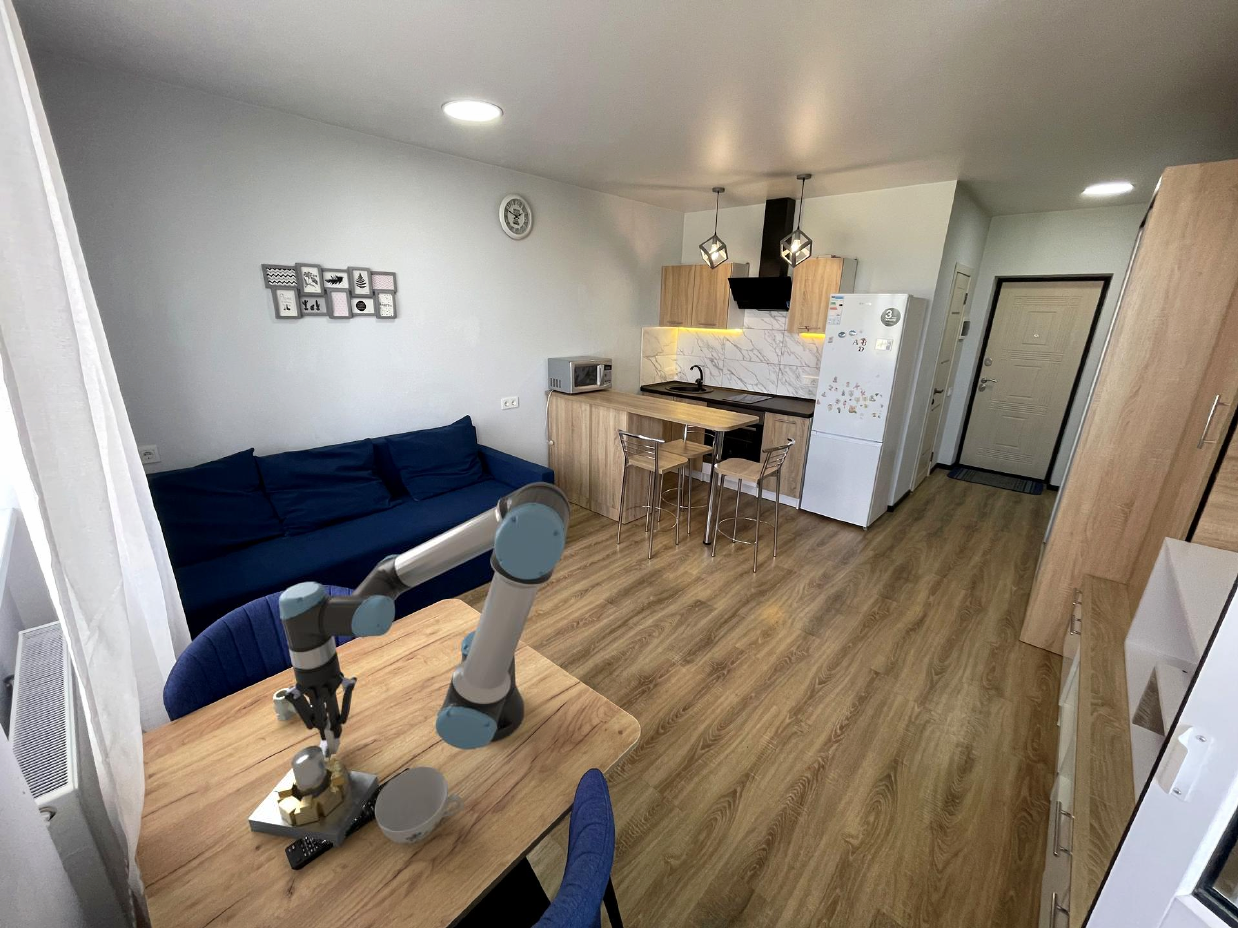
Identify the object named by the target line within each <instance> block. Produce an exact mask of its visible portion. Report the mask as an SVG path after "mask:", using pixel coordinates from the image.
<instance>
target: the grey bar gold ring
mask: <svg viewBox="0 0 1238 928" xmlns="http://www.w3.org/2000/svg"><path fill="white" fill-rule="evenodd" d="M327 722H328V720H327ZM318 746H319V747H321V748H322V751H323V756H324V761H325V766H326V770H327V775H328V779H329V780H330V781H331V786H330V787H329V788H327V789H326V790H325V791H324V792H323V793H322V794H321V795H319V796H318V797H317V798H314V799H313V795H309V796H305V797H303V798H302V801H301V802H300V801H298V800H297V796H298V790H297V786H296V782H295V777H294V773H293V774H292V775H291V776H289V777H288V778H287V783H283V784H280V786H279V789H278V799H277V802H278V807H279V811H280V815H281V817H282V818H284V819H285V820H286V821H288V822H289V823H290V824H291V825H292V824H294V823H295V822H297V825H301V824H305V823H309V822H313V821H317V820H319V816H320V813H321V814H322V815H324V816H326V815H327V814H328V813H329V812H330V811H332V810H333V809H334V808H335V807H336V806H337V805H338V804H339V803H340V802H341V801H342V798H341V797H342V796H345V795H346V791H347V786H348V781H349V779H348V773H347V770H348V769H347V767H346V764H345V763H344V762H343V763H342V762H341V761H340V760H339V759H337V758H335V757H333V759H331V758H332V755H330V754H329V749H328V746H327V741H326V740H325V741H322V739H321V738H320V743H319V745H318Z"/></svg>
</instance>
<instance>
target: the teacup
mask: <svg viewBox="0 0 1238 928" xmlns="http://www.w3.org/2000/svg"><path fill="white" fill-rule="evenodd" d="M448 795H449V786H448V781H447V780H446V778H445V776H444V775H443V773H442V772H441V771H440V770H439V769H438V770H437V768H435V767H432V766H421V765H420V766H416V767H413V768H408V769H407V770H403V771H402V772H401V773H400V774H399V775H396V776H395V777H394V778H392V779H390V780H389V781H388V782H387V784H386V785H385V786H383V788H382V789H381V790H380V791H379V794H378V796H377V797H376V803H375V806H374V815H375V818H376V822H377V824H378V826H379V828H380V830H381V831H382V833H383V834H384V835H385V837H387V838H388V839H389V840H391V841H393V842H395V843H397V844H402V845H408V844H414V843H417V842H419V841H421V840H423V839H424V838H426V837H427V836H429V835H430V834H431V833H432V832H433V831H434V830H435V829H436V828H437V826H438V825H439V823H440V821H441V819H442V818H445V817H449V816H452V815H453V814H455V813H457V811H459V810H460V809H461V808H462V806H463V801H462V800H463V799H462V797H461V796H459V795H452V796H451V795H450V796H449V797H448ZM452 802H454V803H457V805H456V806H455V807H454V808H452V809H450V810H448V811H446V808H447V807H448V806H449V805H450V803H452ZM445 811H446V812H445Z"/></svg>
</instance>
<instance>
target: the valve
mask: <svg viewBox="0 0 1238 928" xmlns="http://www.w3.org/2000/svg"><path fill="white" fill-rule="evenodd" d="M288 689H289V688H287V687H286V688H282V689H280V690H278V691H276V692H275V693H274V694H273V698H272V699H273V704H274V705H273V709H274V712H275V713H276V714H277V715H276V716H277V720H278V721H279V722H287V721H289V720H291V719H293V718H294V717H295V716H296V714H298V713H297V711H296V709H295V708H294V706H293V705H292V704H291V703H290V702H289V701H287V700H286V699H285V698H284V697H285V695H286V693H287V691H288ZM323 700H324V699H323ZM309 704H310V702H309ZM311 707H312V705H311ZM325 708H326V713H327V714H328V712H327V707H326V705H325ZM312 709H313V708H312ZM327 717H328V715H327Z"/></svg>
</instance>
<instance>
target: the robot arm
mask: <svg viewBox="0 0 1238 928" xmlns="http://www.w3.org/2000/svg"><path fill="white" fill-rule="evenodd" d="M570 519H571V504H570V502H569V499H568V497H567V496H566V494H565V493H564V492H563V490H561V489H560V488H559V487H558V486H556V485H555V484H553V483H548V482H546V481H545V482H544V481H537V482H532V483H528V484H526V485H524V486H522V487H521V488H518V489H517V490H514V491H512V492H511V493H509V494H508V495H505V496H503V497H501V498H500V499H499V500H498V502H497V505H495V506H494V507H493V508H491V509H488V510H487V511H484V512H483V513H482V512H481V513H480V514H479V515H477V516H475V517H473V518H471V519H468V520H467V521H465V522H463V523H460V524H459V525H456V526H455V527H453V528H451V529H449V530H447V531H445V532H443V533H442V534H439V535H436V536H435V537H433V538H431V539H429V540H427V541H426V542H423V543H421V544H419V545H417V546H415V547H414V548H411V549H409V550H408V551H406V552H403V553H401V554H391V555H387V556H386V557H385V558H384V559H382V560H381V561H380V562H378V563H377V564H376V565H375V567H374V568H373V570H371V572H370V573H369V574H368V575H367V576H366V578H365V579H364V580H363V581H362V582H360V584H359V585H358V586H357V588H355V589H354V591H353V592H351V594H350V595H334V594H333V595H329V594H327V591H326V590H325V587H324V585H323V584H322V583H318V582H317V581H305V582H300V583H297V584H295V585H292V586H290V587H287V588H286V590H285V591H283V592H282V593H281V594H280V596H278V597H279V598H278V605H279V618H280V620H281V623H282V626H283V631H284V633H285V637H286V640H287V641H286V643H287V646H288V651H289V656H290V661H291V662H290V663H291V664H292V668H293V672H294V677H295V681H296V683H295V685H291V686H289V688H287V689H288V691H287V693H286V695H285V697H284V698H285V699H286V700H287V701H289V702H290V703H291V704H292V705H293V706H294V708H295V709H296V711H297V713H296V714H298V715H299V718H300V720H301V721H302V722H303V724H304V725H305V727H306V729H308V731H309V730H310V731H311V730H313V729H317V730H318V732H319V735H320V740H321V739H322V741H325V740H326V741H327V746H328V749H329V754H330V755H331V756H332V755H337V753H338V751H339V747H340V745H341V739H340V737H341V736H342V733H343V728H342V725H345V724H346V723H347V720H348V718H349V714H350V712H351V705H352V696H353V691H354V689H355V687H356V684H357V681H358V677H356V676H353V677H351V678H348V677H345V674H344V673H343V672H342V671H341V668H340V666H341V665H340V662H339V656H338V652H337V647H336V641H335V637H353V638H362V639H363V638H367V637H381V636H384V635H386V634H387V633H388V632H389V631H390V629H391V628H392V624H393V622H394V620H395V616H396V615H395V614H396V609H395V608H396V607H395V600H397V598H398V597H399V596H400V595H401V594H403V593H404V592H406V591H409V590H411V589H413V588H414V587H416V586H418V585H420V584H422V583H424V582H426V581H429V580H430V579H433V578H435V577H436V576H440V575H442V574H443V573H445V572H447V571H449V570H450V569H453V568H456V567H457V566H459V565H461V564H464V563H466V562H467V561H469V560H472V559H474V558H476V557H477V556H480V555H482V554H483V553H486V552H488V551H490V550H492V554H491V555H490V565H491V568H492V569H493V571H494V574H493V577H492V580H491V583H490V586H489V588H488V589H489V590H488V592H487V595H486V599H485V600H484V604H483V607H482V611H481V614H480V617H479V619H478V623H477V626H476V628H475V630H473V631H471V632H469V633H468V634H467V635H465V637H463V639H462V641H461V646H460V647H461V648H460V652H461V661H460V663H459V664H458V665H457V666H456V667H455V669H454V671H453V674H452V676H451V681H450V682H449V686H448V689H447V692H446V695H445V698H444V700H443V703H442V706H441V708H440V709H439V711H437V717H436V720H435V721H436V722H435V729H436V732H437V735H438V736H439V738H441V739H442V741H443V742H445V743H446V744H447V745H449V746H451V747H453V748H456V749H459V750H471V751H472V750H476V749H480V748H483V747H485V746H487V745H488V744H490V743H492V742H493V743H494V742H496V741H500V740H502V739H505V738H507V737H509V736H510V735H512V734H513V733H514V732H515V731H516V730H518V728H519V727H520V725H521V724H522V721H523V720H524V715H525V702H524V698H523V696H522V694H521V693H520V691H519V688H518V686H517V683H516V665H515V664H516V660H515V659H516V658H515V655H516V650H517V648H518V645H519V642H520V639H521V636H522V634H523V631H524V628H525V626H526V623H527V621H528V617H529V614H530V611H531V609H532V606H533V604H534V601H535V599H536V595H537V592H538V590H539V587H540V586H542V585H544V584H546V583H547V582H549V581H550V579H551V578H552V575H553V573H554V570H555V568H556V566H557V564H558V562H559V561H560V559H561V558H562V556H563V553H564V551H565V547H566V539H567V532H568V527H569V522H570ZM341 686H342V687H341ZM339 687H341V688H342V692H343V696H342V702H341V709H340V707H339V701H338V697H337V690H338V689H339ZM306 697H307V698H306ZM308 699H309V701H308ZM323 699H324V700H323ZM309 703H310V704H309ZM311 705H312V707H311ZM325 706H326V707H327V712H328V713H326V708H325ZM312 708H313V709H312ZM327 716H328V717H327ZM327 721H328V722H327Z"/></svg>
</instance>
